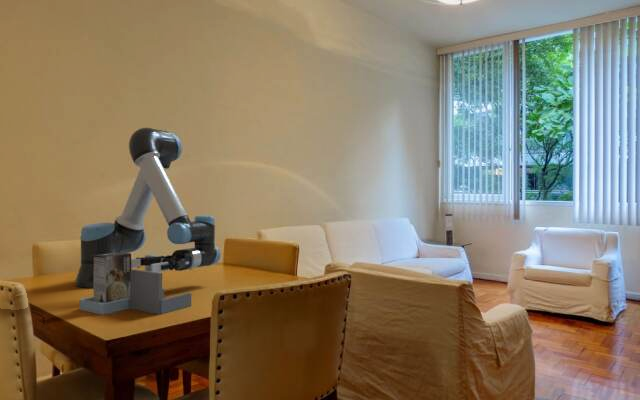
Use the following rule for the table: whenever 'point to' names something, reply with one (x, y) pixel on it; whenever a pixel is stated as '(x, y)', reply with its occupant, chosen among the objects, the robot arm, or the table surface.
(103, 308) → the tray
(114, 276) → the coffee box
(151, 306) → the bracket
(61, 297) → the table surface
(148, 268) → the salt shaker
